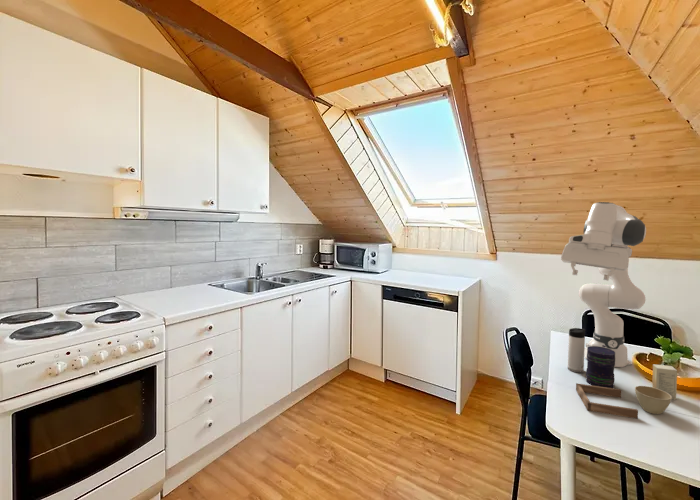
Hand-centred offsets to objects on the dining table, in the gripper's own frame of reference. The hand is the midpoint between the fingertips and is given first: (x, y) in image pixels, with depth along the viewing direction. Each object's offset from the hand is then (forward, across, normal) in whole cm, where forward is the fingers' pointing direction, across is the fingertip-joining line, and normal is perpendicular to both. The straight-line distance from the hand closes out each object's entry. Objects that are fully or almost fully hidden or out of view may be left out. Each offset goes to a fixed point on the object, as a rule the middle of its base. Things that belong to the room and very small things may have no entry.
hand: (589, 277), depth 121 cm
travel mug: (+34, 0, -51) cm, 62 cm away
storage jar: (+37, -9, -42) cm, 56 cm away
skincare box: (+34, -30, -43) cm, 62 cm away
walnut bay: (+43, -12, -25) cm, 51 cm away
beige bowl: (+40, -25, -28) cm, 55 cm away
